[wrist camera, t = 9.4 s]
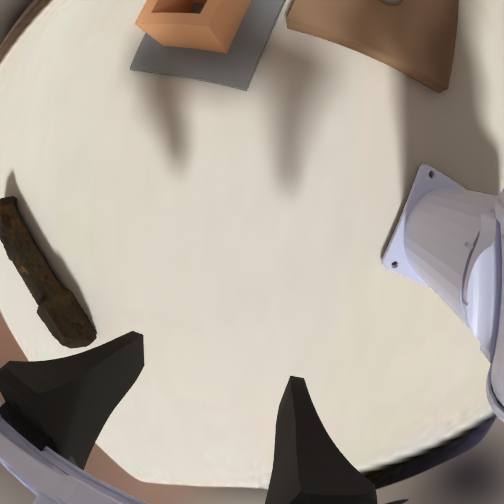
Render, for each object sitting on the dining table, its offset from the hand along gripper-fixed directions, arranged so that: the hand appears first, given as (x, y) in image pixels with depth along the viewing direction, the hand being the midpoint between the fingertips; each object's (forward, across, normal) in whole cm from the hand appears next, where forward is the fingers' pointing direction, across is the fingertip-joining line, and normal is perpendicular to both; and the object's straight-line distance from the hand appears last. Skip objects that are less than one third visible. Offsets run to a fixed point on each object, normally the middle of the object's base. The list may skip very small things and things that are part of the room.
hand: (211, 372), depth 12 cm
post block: (+9, -6, -25) cm, 28 cm away
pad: (+9, +7, -20) cm, 23 cm away
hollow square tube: (+9, +7, -20) cm, 23 cm away
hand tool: (+10, +22, +3) cm, 24 cm away
